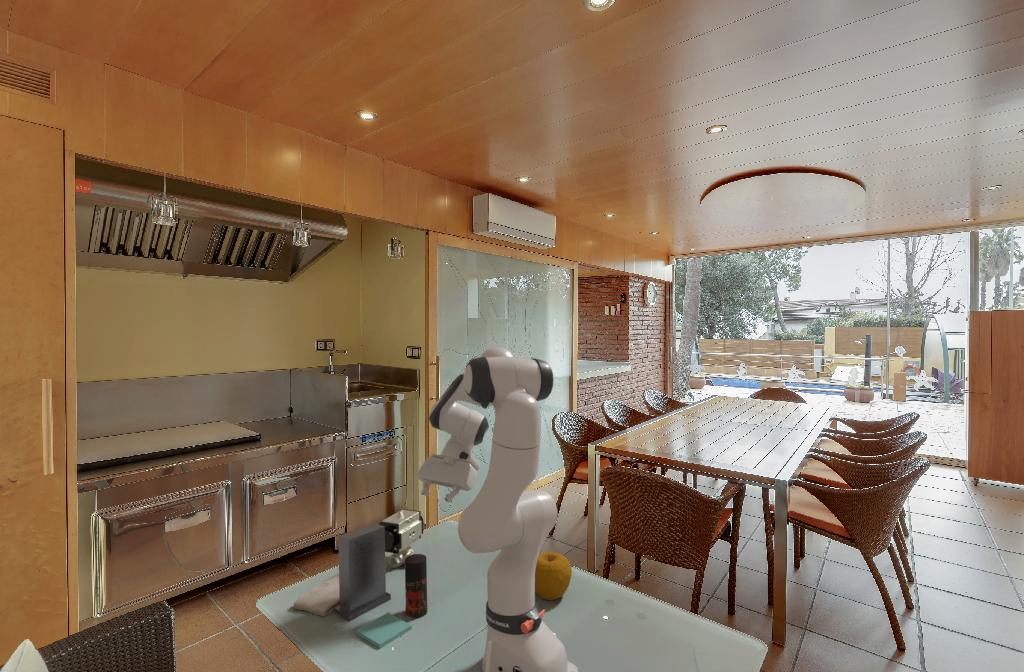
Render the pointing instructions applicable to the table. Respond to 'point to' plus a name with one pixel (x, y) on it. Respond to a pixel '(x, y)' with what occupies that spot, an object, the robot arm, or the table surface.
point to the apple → (552, 575)
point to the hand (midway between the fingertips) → (435, 498)
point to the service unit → (361, 571)
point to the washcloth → (320, 598)
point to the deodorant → (416, 585)
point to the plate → (383, 630)
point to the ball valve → (402, 534)
